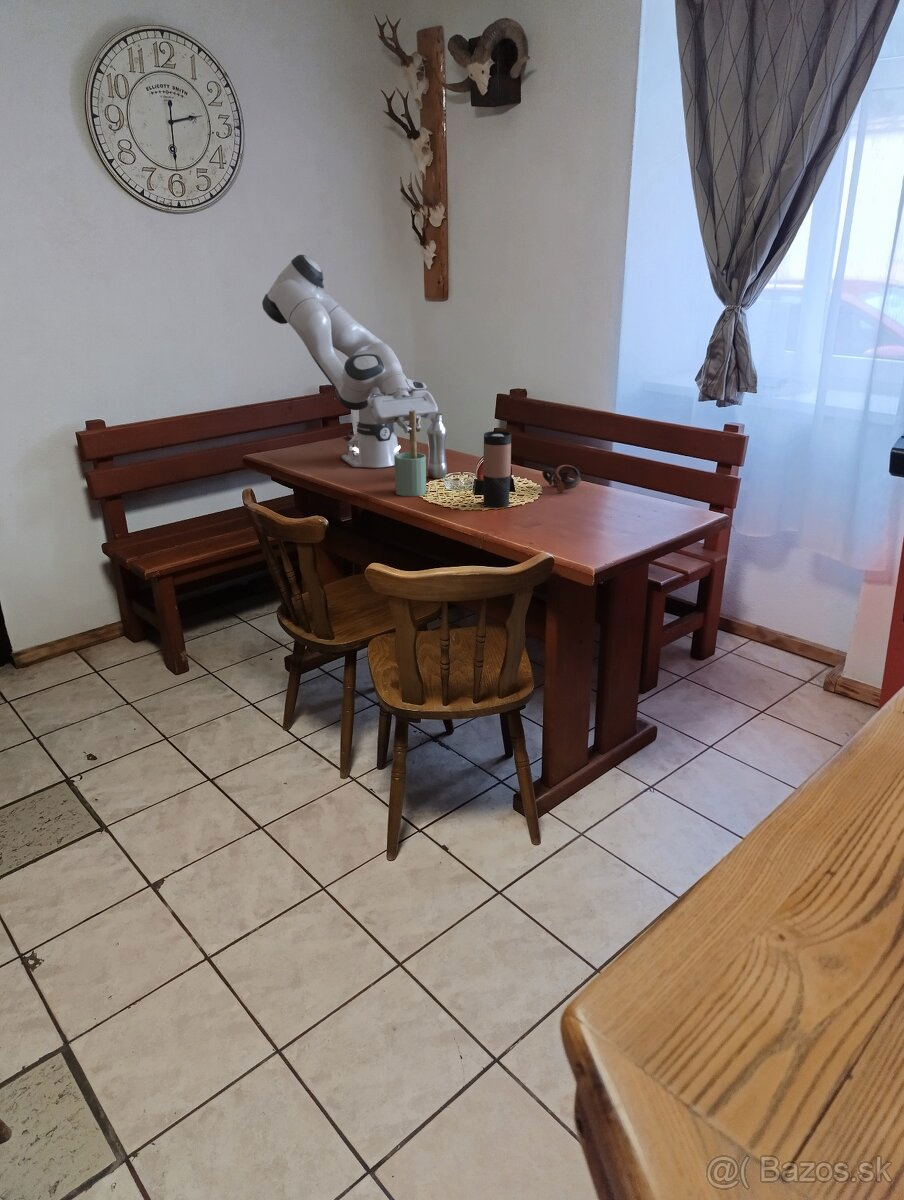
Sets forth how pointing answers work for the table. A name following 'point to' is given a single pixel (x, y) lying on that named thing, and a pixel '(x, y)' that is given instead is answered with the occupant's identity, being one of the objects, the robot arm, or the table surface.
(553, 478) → the dark looped ring
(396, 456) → the cup
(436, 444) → the silver metal bottle
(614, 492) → the table surface
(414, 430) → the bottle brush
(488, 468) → the travel mug
